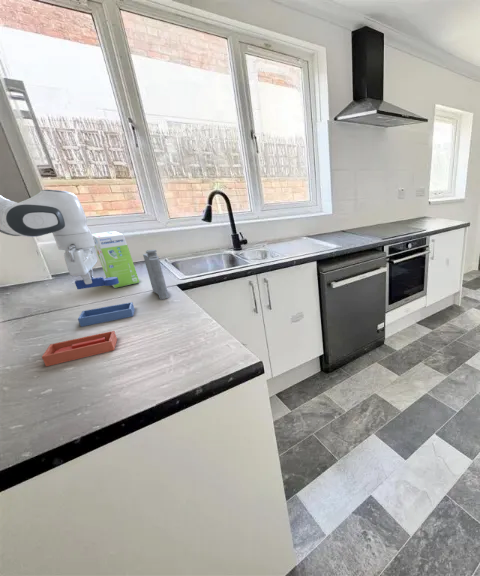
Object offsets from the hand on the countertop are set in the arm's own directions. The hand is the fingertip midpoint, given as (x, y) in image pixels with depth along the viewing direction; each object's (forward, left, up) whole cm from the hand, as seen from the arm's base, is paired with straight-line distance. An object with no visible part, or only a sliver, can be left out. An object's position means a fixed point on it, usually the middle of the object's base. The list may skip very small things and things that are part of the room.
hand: (90, 282), depth 104 cm
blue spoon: (+2, 0, -2) cm, 2 cm away
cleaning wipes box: (+1, +55, -15) cm, 57 cm away
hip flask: (+17, +21, -15) cm, 31 cm away
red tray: (-2, -24, -15) cm, 29 cm away
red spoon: (-2, -24, -14) cm, 28 cm away
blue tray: (+1, +3, -15) cm, 15 cm away
